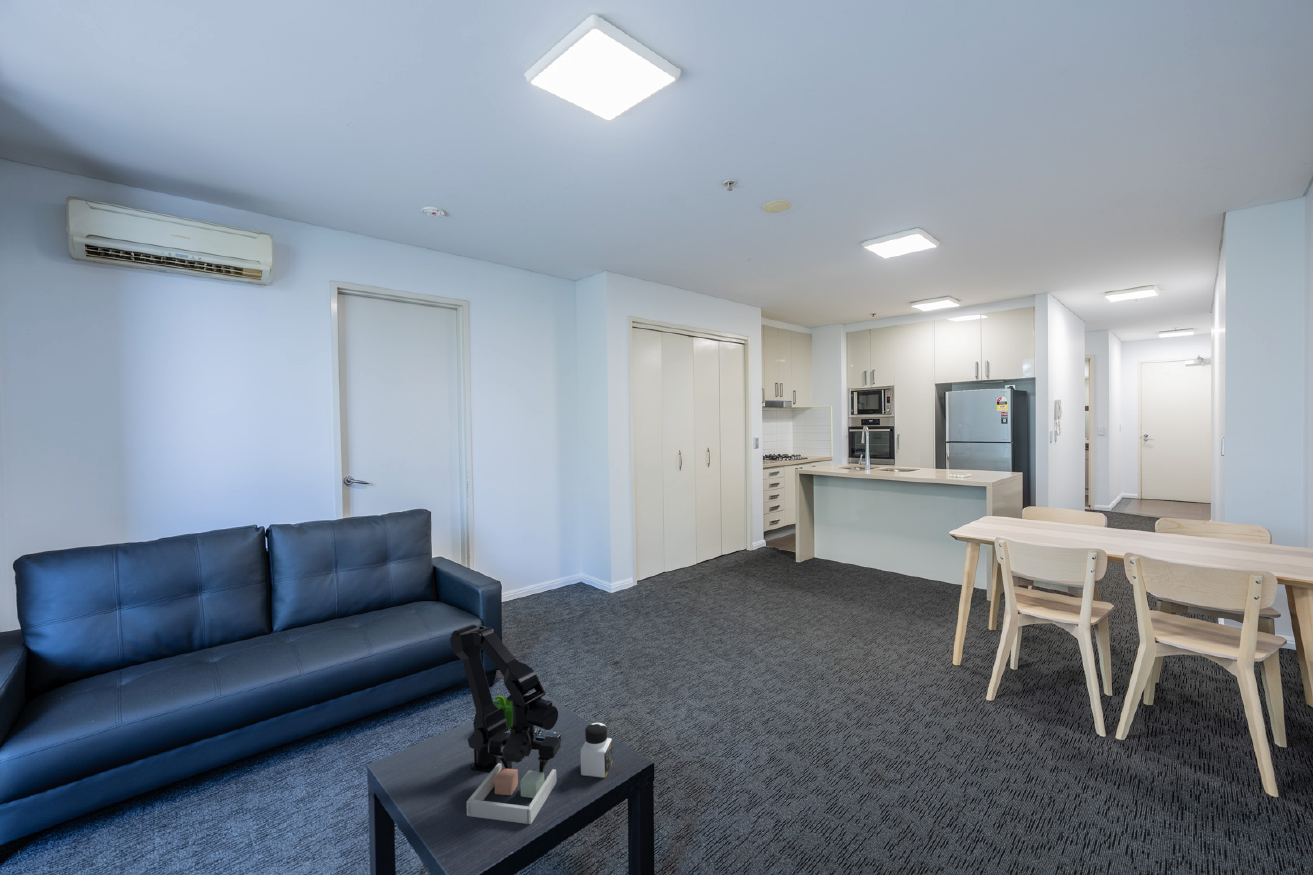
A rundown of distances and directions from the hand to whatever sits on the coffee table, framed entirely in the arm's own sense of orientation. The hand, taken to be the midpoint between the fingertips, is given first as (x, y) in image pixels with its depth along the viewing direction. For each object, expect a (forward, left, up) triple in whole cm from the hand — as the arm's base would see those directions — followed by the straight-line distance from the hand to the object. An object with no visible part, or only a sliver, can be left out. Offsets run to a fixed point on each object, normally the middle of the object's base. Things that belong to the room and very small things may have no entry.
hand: (525, 776), depth 146 cm
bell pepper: (-20, +26, -2) cm, 32 cm away
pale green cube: (+4, -4, -2) cm, 5 cm away
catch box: (0, -7, -2) cm, 7 cm away
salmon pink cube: (-4, -4, -2) cm, 5 cm away
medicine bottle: (+17, +9, -2) cm, 20 cm away
